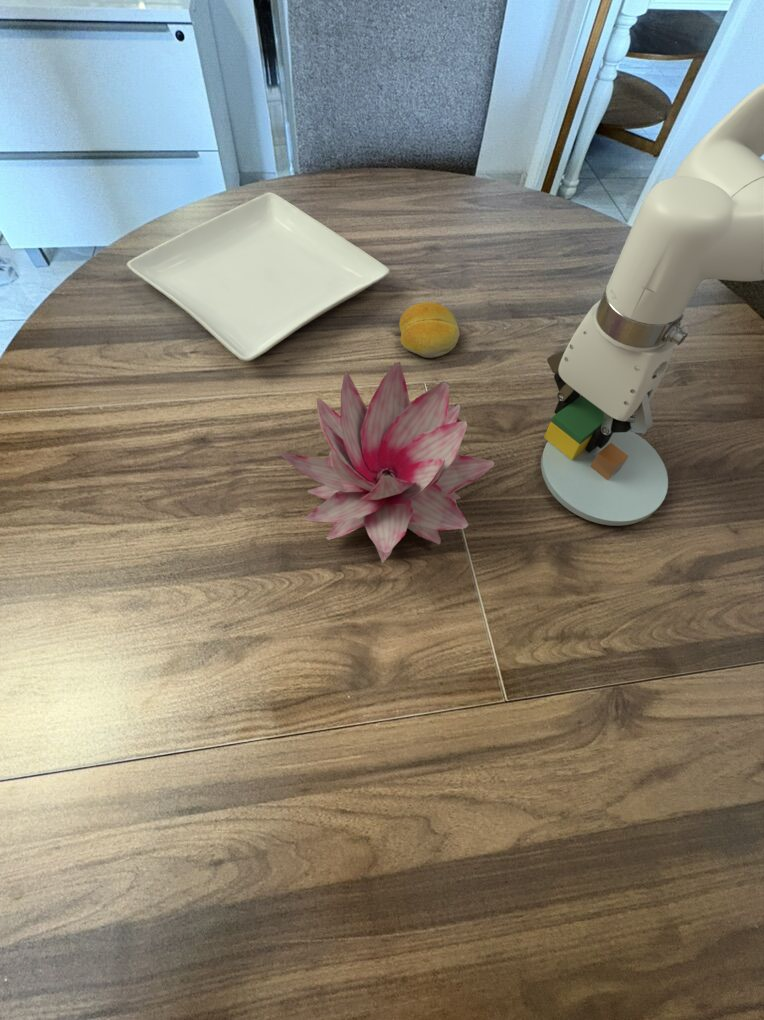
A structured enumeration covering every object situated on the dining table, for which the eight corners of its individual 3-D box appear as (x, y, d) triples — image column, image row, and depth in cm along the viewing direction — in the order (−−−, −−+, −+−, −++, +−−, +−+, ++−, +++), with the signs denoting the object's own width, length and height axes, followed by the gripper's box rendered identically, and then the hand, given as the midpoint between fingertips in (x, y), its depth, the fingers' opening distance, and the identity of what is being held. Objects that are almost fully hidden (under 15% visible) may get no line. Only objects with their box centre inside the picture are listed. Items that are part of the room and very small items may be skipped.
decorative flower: (334, 614, 64) (331, 543, 51) (265, 461, 74) (248, 370, 61) (509, 542, 69) (546, 462, 57) (423, 410, 79) (438, 316, 66)
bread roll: (402, 361, 84) (404, 338, 80) (397, 316, 89) (399, 293, 85) (461, 360, 84) (466, 338, 81) (453, 316, 89) (458, 293, 86)
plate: (590, 410, 81) (594, 402, 79) (686, 483, 75) (693, 475, 74) (514, 468, 75) (517, 460, 74) (612, 551, 69) (617, 544, 68)
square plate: (272, 210, 101) (269, 187, 98) (391, 290, 92) (393, 268, 88) (129, 281, 90) (121, 258, 86) (249, 381, 80) (245, 359, 77)
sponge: (581, 409, 78) (592, 386, 75) (609, 430, 77) (622, 408, 73) (543, 437, 75) (552, 415, 72) (571, 460, 74) (582, 439, 70)
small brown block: (603, 455, 75) (611, 442, 72) (620, 469, 74) (628, 456, 71) (590, 466, 74) (597, 453, 71) (607, 480, 73) (615, 467, 70)
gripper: (731, 345, 59) (651, 460, 74) (593, 257, 65) (545, 380, 81) (687, 380, 56) (613, 492, 71) (547, 285, 62) (507, 406, 78)
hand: (578, 431), depth 76 cm, fingers closed on sponge, 4 cm apart
